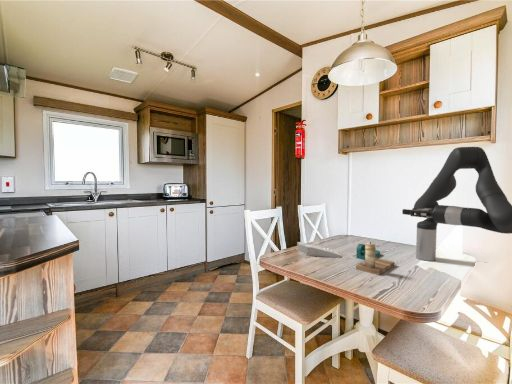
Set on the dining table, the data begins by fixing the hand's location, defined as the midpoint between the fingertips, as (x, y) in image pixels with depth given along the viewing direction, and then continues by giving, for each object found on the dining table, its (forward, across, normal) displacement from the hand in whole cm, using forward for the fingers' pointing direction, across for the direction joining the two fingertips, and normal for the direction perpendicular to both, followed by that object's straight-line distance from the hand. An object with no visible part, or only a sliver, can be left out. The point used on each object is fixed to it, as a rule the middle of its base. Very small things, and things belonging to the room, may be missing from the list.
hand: (407, 211), depth 115 cm
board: (+14, +1, +30) cm, 33 cm away
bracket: (+27, -14, +30) cm, 43 cm away
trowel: (+47, +7, +31) cm, 57 cm away
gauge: (+13, +8, +28) cm, 32 cm away
